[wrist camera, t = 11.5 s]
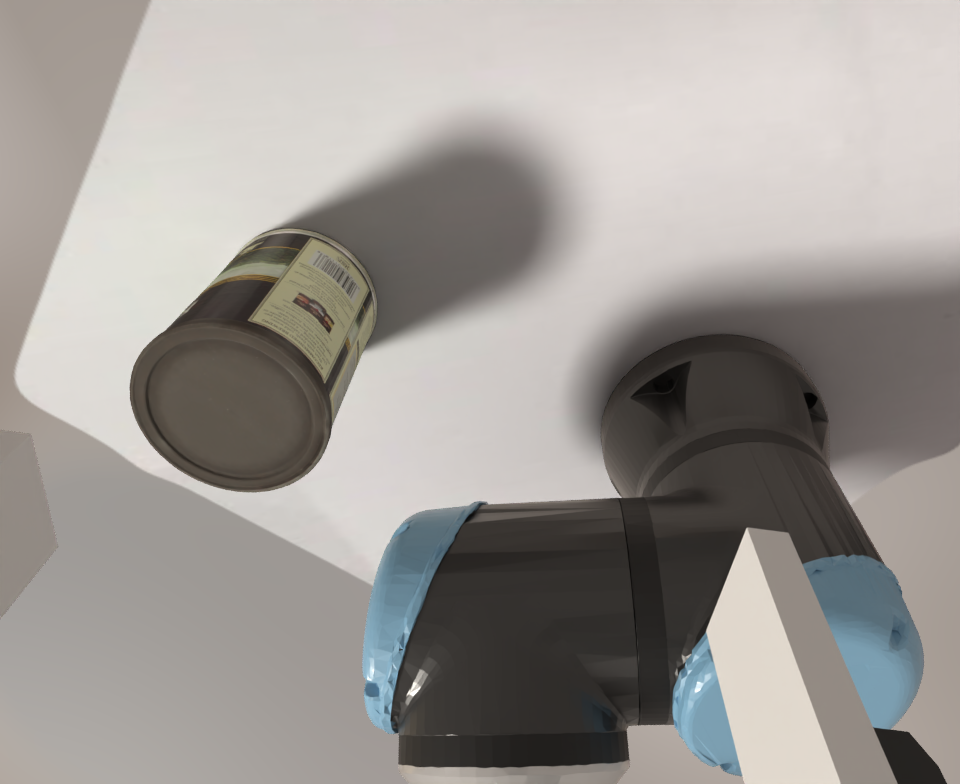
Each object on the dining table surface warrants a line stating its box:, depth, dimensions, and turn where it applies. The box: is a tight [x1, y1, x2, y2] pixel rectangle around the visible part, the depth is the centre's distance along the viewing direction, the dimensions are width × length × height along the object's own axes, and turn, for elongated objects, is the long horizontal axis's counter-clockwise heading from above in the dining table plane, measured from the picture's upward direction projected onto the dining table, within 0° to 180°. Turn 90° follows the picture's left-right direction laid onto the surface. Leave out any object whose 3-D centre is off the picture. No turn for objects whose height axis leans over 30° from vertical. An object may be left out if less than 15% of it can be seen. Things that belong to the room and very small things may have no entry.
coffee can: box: [130, 229, 377, 492], centre depth 44 cm, size 10×10×14 cm
